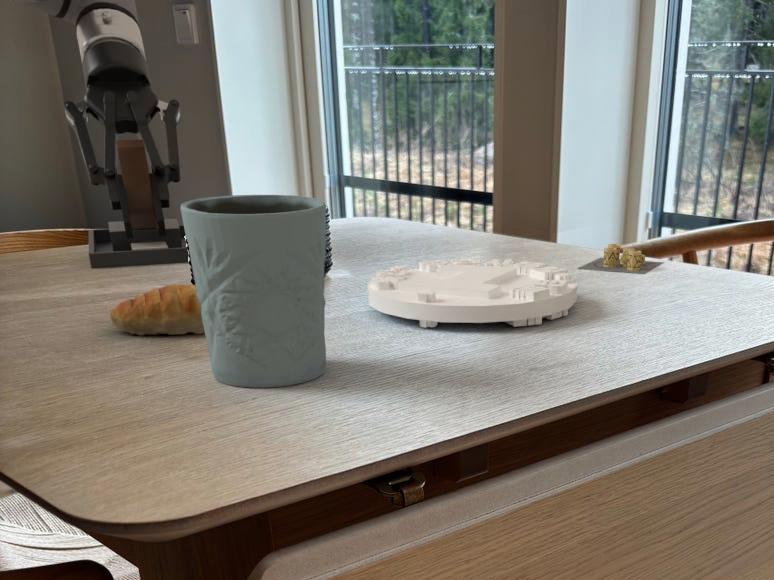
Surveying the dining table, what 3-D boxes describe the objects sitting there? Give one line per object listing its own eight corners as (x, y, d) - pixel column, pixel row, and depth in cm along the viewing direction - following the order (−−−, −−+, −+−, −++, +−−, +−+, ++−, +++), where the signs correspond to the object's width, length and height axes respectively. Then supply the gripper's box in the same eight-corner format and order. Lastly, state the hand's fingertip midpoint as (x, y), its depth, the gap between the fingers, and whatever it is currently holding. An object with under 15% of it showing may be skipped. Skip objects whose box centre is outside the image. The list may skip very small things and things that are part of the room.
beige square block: (132, 256, 115) (130, 243, 114) (167, 254, 116) (165, 241, 115) (134, 262, 112) (131, 248, 111) (170, 260, 113) (167, 246, 112)
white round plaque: (326, 308, 94) (323, 276, 93) (471, 279, 106) (471, 251, 105) (472, 344, 82) (472, 307, 80) (617, 307, 94) (619, 275, 92)
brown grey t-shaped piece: (113, 253, 117) (93, 148, 109) (112, 243, 119) (92, 140, 112) (182, 249, 119) (167, 146, 112) (179, 239, 122) (164, 138, 114)
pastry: (114, 341, 83) (105, 295, 82) (113, 325, 89) (104, 281, 87) (225, 332, 86) (219, 287, 84) (218, 316, 92) (212, 273, 90)
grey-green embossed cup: (252, 350, 81) (233, 191, 74) (362, 362, 77) (351, 196, 71) (177, 383, 72) (148, 208, 66) (296, 397, 69) (277, 214, 63)
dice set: (637, 271, 110) (639, 252, 109) (595, 267, 112) (595, 249, 111) (651, 263, 114) (652, 246, 113) (609, 260, 116) (610, 243, 115)
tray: (92, 248, 125) (88, 229, 124) (197, 242, 129) (195, 224, 128) (92, 275, 109) (88, 253, 108) (213, 267, 113) (210, 246, 112)
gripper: (37, 37, 113) (66, 211, 108) (180, 37, 117) (215, 204, 112) (49, 89, 120) (77, 254, 115) (184, 87, 124) (216, 246, 119)
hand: (145, 229), depth 113 cm, fingers closed on brown grey t-shaped piece, 3 cm apart
